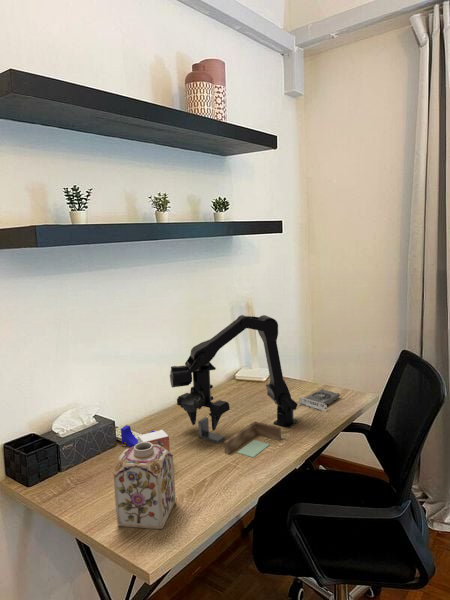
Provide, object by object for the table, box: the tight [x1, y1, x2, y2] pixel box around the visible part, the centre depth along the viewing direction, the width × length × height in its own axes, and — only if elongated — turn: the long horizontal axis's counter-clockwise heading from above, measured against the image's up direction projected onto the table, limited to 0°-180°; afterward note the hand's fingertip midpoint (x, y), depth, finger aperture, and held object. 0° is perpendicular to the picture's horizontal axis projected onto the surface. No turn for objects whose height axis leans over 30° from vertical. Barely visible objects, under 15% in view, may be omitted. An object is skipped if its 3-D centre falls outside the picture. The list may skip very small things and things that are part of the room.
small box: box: [137, 429, 171, 453], centre depth 135 cm, size 8×6×10 cm
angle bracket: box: [197, 417, 226, 445], centre depth 154 cm, size 8×4×6 cm, turn 54°
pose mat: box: [236, 439, 271, 459], centre depth 146 cm, size 10×6×1 cm, turn 144°
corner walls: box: [223, 421, 282, 455], centre depth 147 cm, size 18×10×4 cm, turn 144°
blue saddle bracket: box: [120, 425, 157, 448], centre depth 150 cm, size 12×4×6 cm, turn 62°
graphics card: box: [298, 388, 341, 412], centre depth 182 cm, size 17×4×12 cm
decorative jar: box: [112, 442, 176, 530], centre depth 112 cm, size 12×12×18 cm
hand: (203, 427), depth 156 cm, fingers open, 8 cm apart
